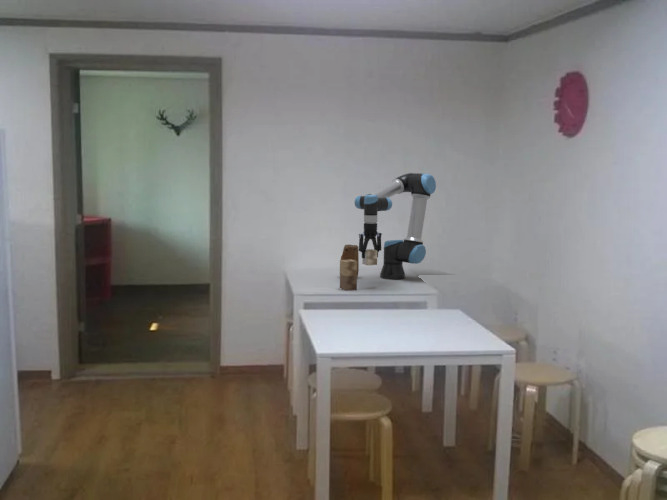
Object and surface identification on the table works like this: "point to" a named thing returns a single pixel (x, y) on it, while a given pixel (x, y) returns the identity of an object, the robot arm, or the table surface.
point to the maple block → (371, 257)
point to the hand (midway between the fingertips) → (369, 263)
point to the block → (351, 254)
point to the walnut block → (348, 282)
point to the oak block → (348, 267)
